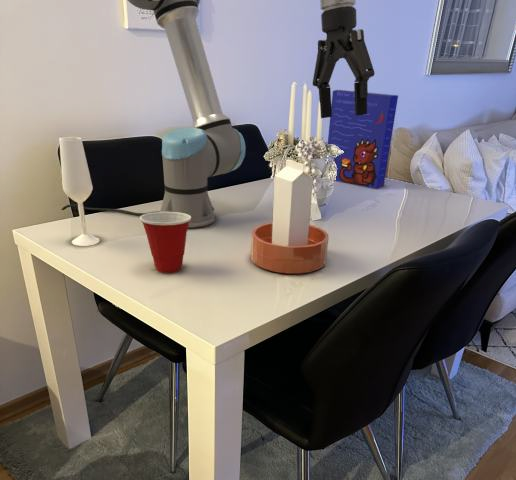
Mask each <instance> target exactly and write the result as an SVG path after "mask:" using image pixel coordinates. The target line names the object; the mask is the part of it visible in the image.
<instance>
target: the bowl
mask: <svg viewBox="0 0 516 480" xmlns="http://www.w3.org/2000/svg"><path fill="white" fill-rule="evenodd" d="M272 228H273V221H272V222H266V223H263V224H260V225H258V226H255V228H253V229H252V230H251V246H250V247H251V248H250V259H251V261H252V263H253V264H255V265H256V267H257V266H258V267H259V268H261V269H264V270H267V271H270V272H273V273H274V272H275V273H278V274H287V275H288V274H289V275H290V274H291V275H292V274H293V275H294V274H295V275H297V274H307V273H312V272H315V271H318V270H320V269H322V268H323V267H324V266H325V265H326V263H327V256H328V248H329V240H330V239H329V233H328V232H327V231H326V230H324V229H323V228H321V227H319V226H316V225H312V224H309V232H308V243H307V245H306V246H283V245H277V244H272Z"/></svg>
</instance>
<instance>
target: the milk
mask: <svg viewBox="0 0 516 480" xmlns="http://www.w3.org/2000/svg"><path fill="white" fill-rule="evenodd" d="M313 184H314V178H313V177H312V176H311V175H309V174H308V173H306V172H305V164H304V163H301V162H298V161H294V160H291V159H286V160H285V166H284V167H282V168H281V170H280V171H278V172H277V173H276V174H275V175H274V191H273V209H272V222H273V228H272V244H277V245H283V246H306V245H307V243H308V232H309V225H310V219H311V208H312V197H313Z"/></svg>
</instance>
